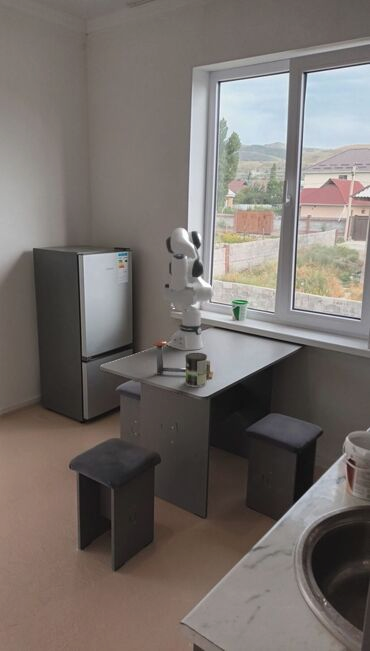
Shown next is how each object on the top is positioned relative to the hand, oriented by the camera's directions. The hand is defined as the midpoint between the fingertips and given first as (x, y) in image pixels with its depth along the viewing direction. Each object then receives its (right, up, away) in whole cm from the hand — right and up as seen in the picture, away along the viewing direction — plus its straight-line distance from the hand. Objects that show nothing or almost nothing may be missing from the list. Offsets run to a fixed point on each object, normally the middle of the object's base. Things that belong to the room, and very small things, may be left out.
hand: (179, 310), depth 266 cm
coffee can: (+8, -36, -24) cm, 44 cm away
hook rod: (-2, -32, -12) cm, 35 cm away
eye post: (+13, -33, -14) cm, 39 cm away
